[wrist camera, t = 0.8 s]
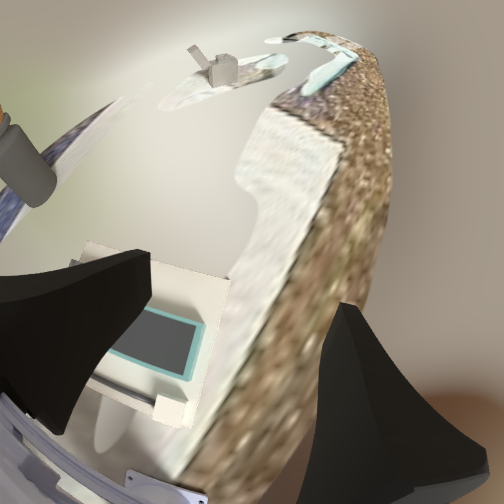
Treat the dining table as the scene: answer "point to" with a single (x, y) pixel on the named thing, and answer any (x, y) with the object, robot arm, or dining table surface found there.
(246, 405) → the dining table surface
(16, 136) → the bottle
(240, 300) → the dining table surface
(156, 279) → the board
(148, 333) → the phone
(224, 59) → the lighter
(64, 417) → the robot arm
